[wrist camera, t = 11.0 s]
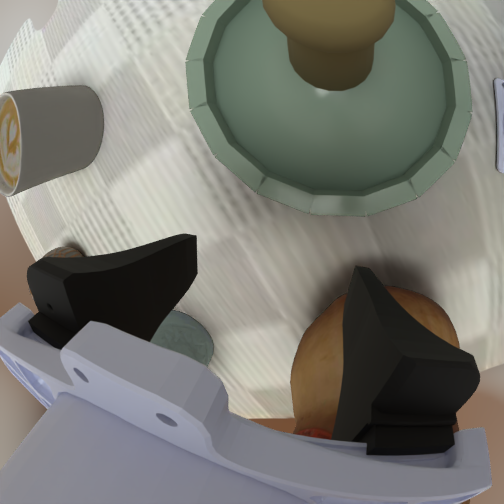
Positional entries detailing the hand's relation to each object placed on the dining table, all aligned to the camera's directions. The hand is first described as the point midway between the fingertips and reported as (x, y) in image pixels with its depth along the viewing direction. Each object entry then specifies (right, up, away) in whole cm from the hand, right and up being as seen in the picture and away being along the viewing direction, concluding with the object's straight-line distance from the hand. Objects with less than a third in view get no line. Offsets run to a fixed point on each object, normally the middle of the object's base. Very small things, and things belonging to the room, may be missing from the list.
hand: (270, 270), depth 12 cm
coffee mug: (-22, +15, +12) cm, 29 cm away
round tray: (+5, +13, +4) cm, 15 cm away
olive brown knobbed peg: (+5, +15, +3) cm, 15 cm away
